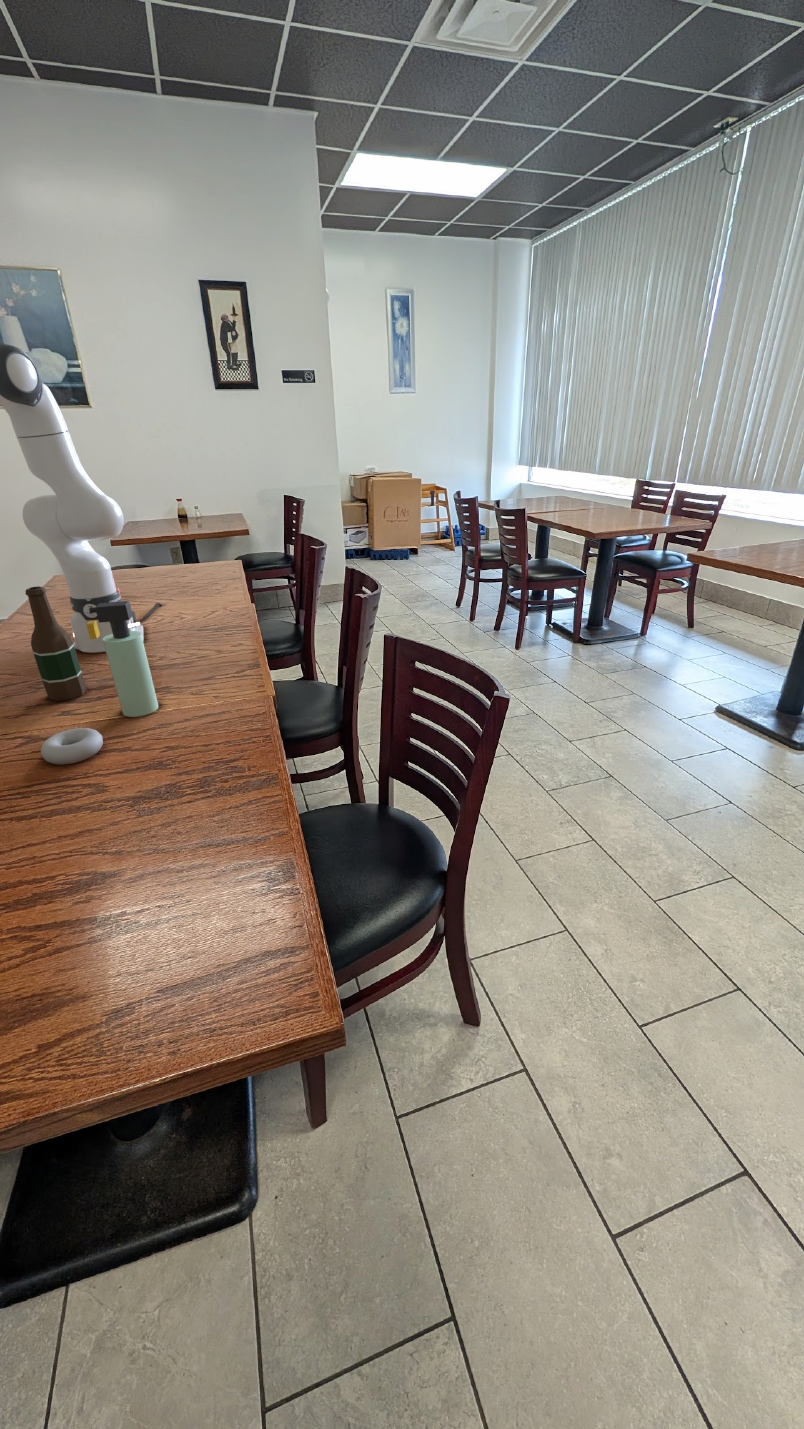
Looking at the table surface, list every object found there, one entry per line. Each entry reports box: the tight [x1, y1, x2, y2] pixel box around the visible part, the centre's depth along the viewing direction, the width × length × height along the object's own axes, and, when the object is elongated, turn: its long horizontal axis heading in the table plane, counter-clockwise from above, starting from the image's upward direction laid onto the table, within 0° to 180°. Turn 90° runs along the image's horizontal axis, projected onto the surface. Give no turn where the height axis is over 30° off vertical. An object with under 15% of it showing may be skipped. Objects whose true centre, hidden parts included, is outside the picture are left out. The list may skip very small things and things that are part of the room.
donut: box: [40, 727, 104, 766], centre depth 105 cm, size 10×4×10 cm
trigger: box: [86, 620, 100, 639], centre depth 113 cm, size 2×1×3 cm, turn 11°
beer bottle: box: [25, 585, 87, 702], centre depth 125 cm, size 8×8×24 cm
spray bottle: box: [89, 600, 159, 718], centre depth 117 cm, size 7×8×22 cm
